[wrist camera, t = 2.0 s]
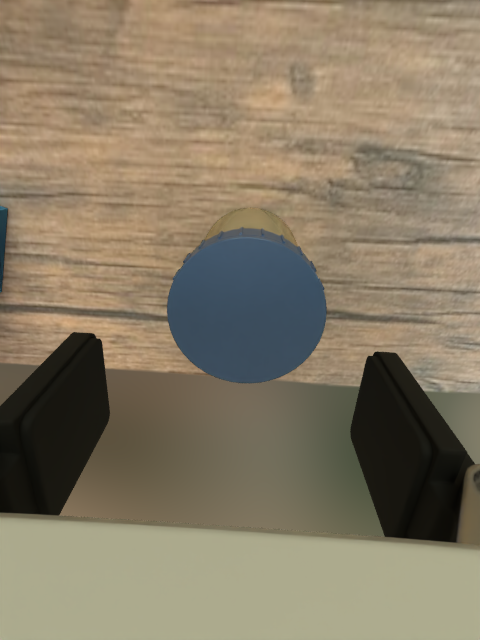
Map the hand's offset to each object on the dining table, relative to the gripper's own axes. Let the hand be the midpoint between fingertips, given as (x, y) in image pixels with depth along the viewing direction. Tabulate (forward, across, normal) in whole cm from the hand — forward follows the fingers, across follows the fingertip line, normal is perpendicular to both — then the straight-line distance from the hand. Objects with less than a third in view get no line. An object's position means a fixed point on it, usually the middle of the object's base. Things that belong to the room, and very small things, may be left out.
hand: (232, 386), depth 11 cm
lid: (+6, 0, 0) cm, 6 cm away
